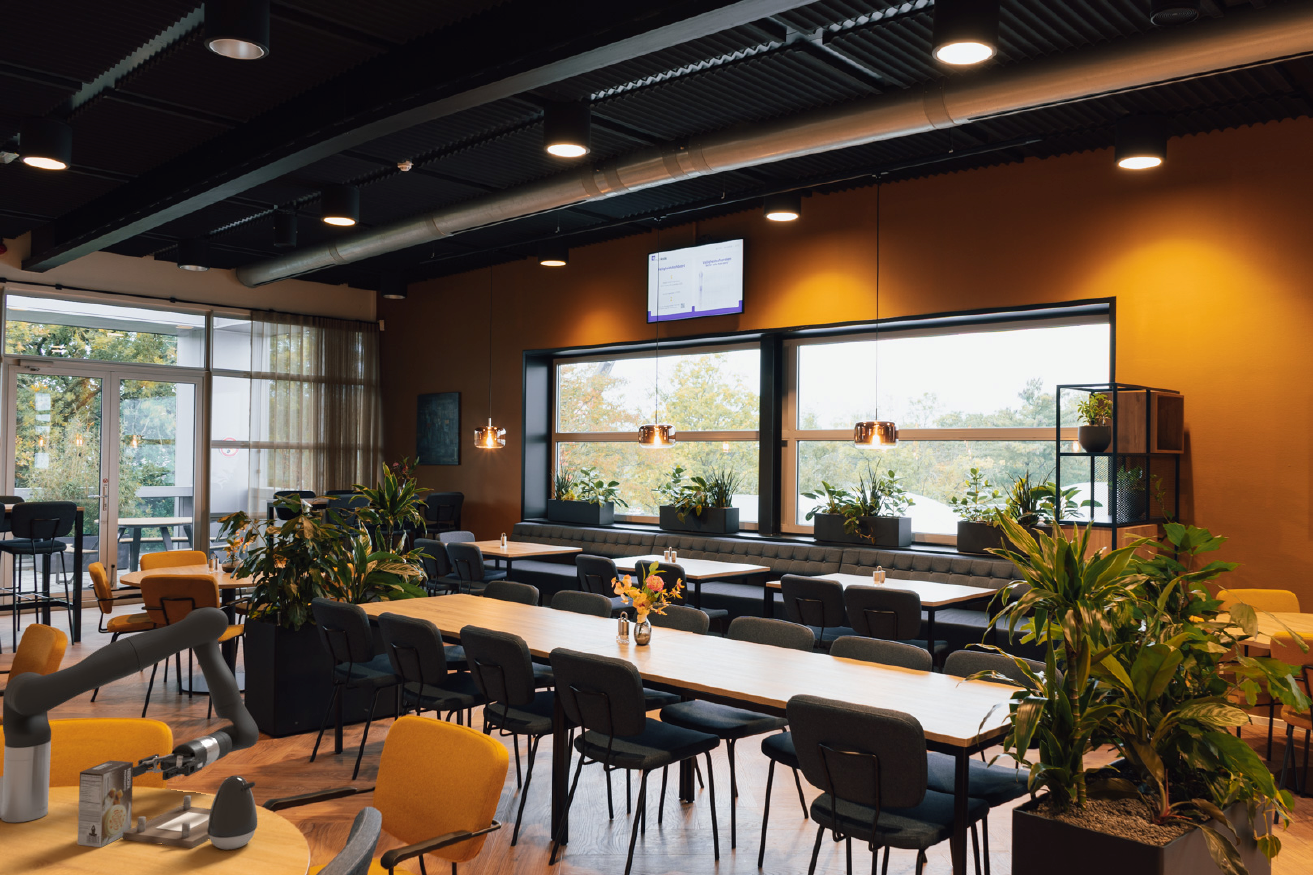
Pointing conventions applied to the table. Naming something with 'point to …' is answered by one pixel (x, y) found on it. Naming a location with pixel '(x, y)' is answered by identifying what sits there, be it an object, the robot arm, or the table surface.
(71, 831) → the table surface
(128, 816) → the coffee box
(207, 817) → the peg stand
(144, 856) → the table surface
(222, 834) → the pump dispenser
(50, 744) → the robot arm
